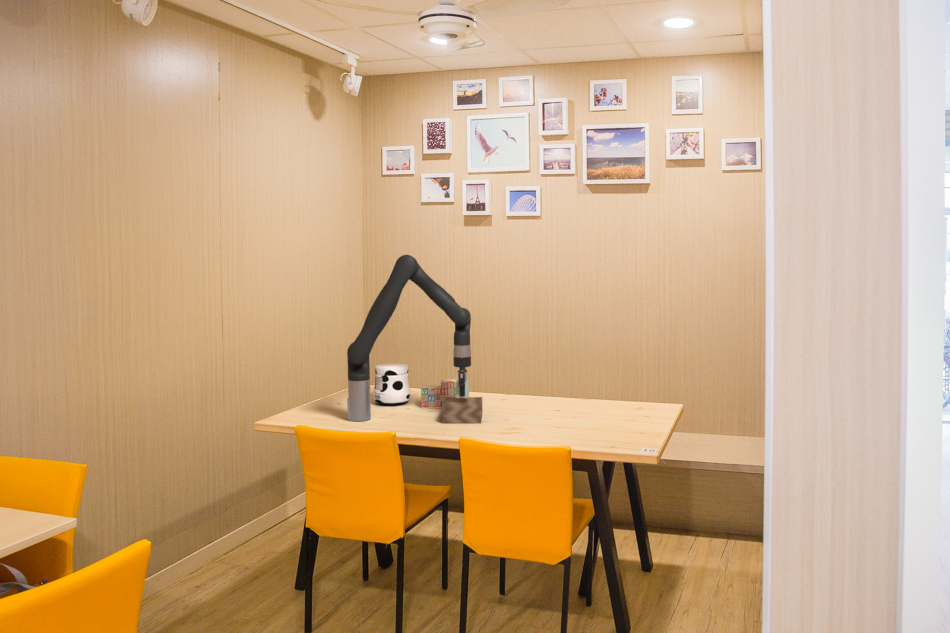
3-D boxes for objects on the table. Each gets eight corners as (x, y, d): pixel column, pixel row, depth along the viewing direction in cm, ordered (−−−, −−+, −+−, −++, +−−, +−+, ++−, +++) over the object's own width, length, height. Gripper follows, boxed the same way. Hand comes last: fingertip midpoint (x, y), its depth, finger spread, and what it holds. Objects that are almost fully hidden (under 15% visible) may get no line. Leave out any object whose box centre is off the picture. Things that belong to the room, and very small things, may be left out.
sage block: (456, 398, 320) (456, 381, 319) (457, 395, 325) (457, 379, 324) (468, 397, 320) (468, 381, 319) (469, 395, 325) (468, 379, 324)
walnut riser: (442, 423, 313) (442, 406, 313) (446, 412, 333) (445, 397, 333) (481, 423, 313) (480, 406, 312) (482, 412, 333) (482, 397, 332)
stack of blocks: (421, 408, 344) (420, 381, 343) (422, 405, 351) (422, 379, 350) (467, 408, 343) (467, 381, 342) (468, 405, 349) (468, 379, 348)
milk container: (414, 399, 362) (413, 362, 361) (406, 407, 345) (405, 368, 344) (379, 399, 365) (378, 362, 363) (369, 406, 348) (368, 368, 346)
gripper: (454, 353, 328) (455, 391, 329) (452, 357, 313) (452, 398, 315) (471, 352, 327) (472, 391, 329) (470, 357, 313) (470, 398, 315)
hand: (462, 394), depth 322 cm, fingers closed on sage block, 5 cm apart
